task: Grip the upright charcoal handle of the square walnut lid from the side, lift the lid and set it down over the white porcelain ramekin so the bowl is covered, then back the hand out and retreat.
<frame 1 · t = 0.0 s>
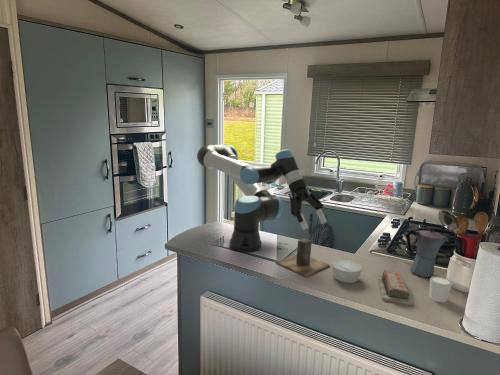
hand: (315, 226, 149), 15 cm above the counter, tool tilted 35°, fingers open, 13 cm apart
packaged product: (393, 292, 127), on the counter
ramekin: (345, 278, 136), on the counter
walnut lid: (302, 265, 145), on the counter
shot glass: (437, 299, 123), on the counter
moka pot: (420, 273, 143), on the counter
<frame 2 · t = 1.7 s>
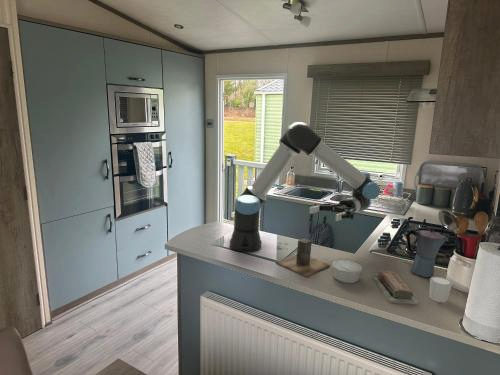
hand: (322, 214, 149), 20 cm above the counter, tool horizontal, fingers open, 13 cm apart
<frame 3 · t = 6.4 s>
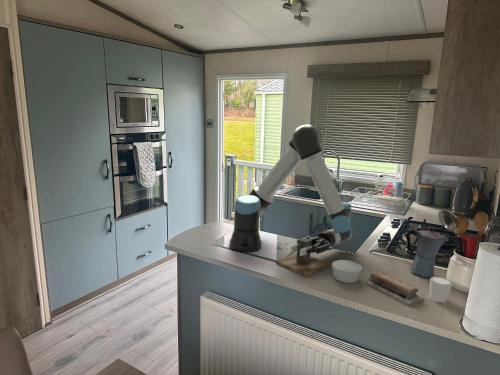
hand: (296, 251, 140), 8 cm above the counter, tool horizontal, fingers closed on walnut lid, 4 cm apart
walnut lid: (302, 264, 145), on the counter, touching gripper
when the fingers open (14 cm above the counter, at t = 11.3 s): walnut lid drops 1 cm, resting on ramekin.
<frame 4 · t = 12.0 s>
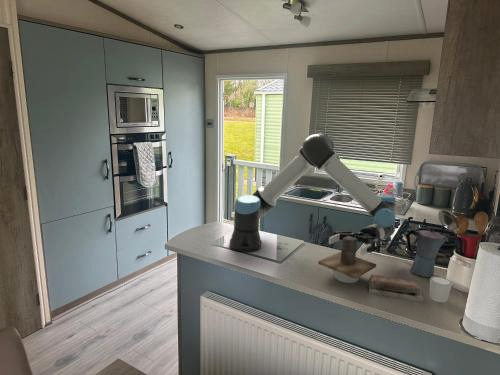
hand: (344, 246, 130), 14 cm above the counter, tool horizontal, fingers open, 13 cm apart
ramekin: (345, 278, 136), on the counter, touching walnut lid
walnut lid: (347, 265, 135), point 5 cm above the counter, touching ramekin
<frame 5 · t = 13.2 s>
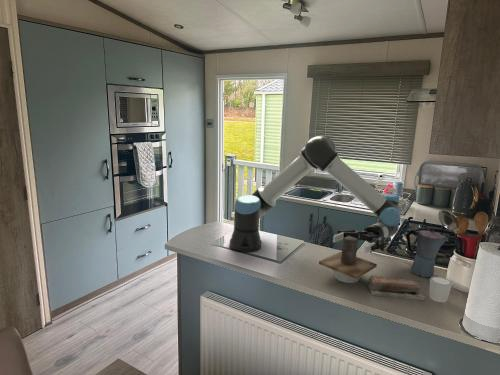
hand: (349, 244, 132), 14 cm above the counter, tool horizontal, fingers open, 13 cm apart
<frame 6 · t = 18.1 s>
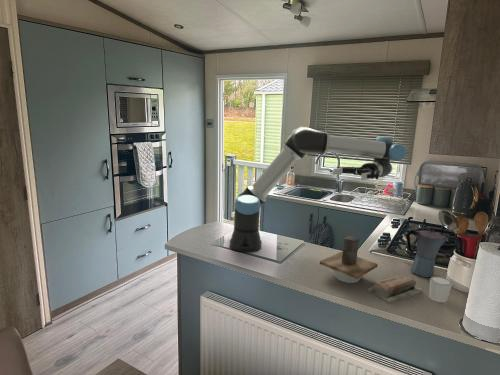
hand: (347, 174, 148), 38 cm above the counter, tool horizontal, fingers open, 13 cm apart
at the end: walnut lid 0.1 cm off-centre on the ramekin, point 5.5 cm above the ramekin's base; walnut lid tilted 0°; ramekin moved 0.7 cm from its start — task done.
